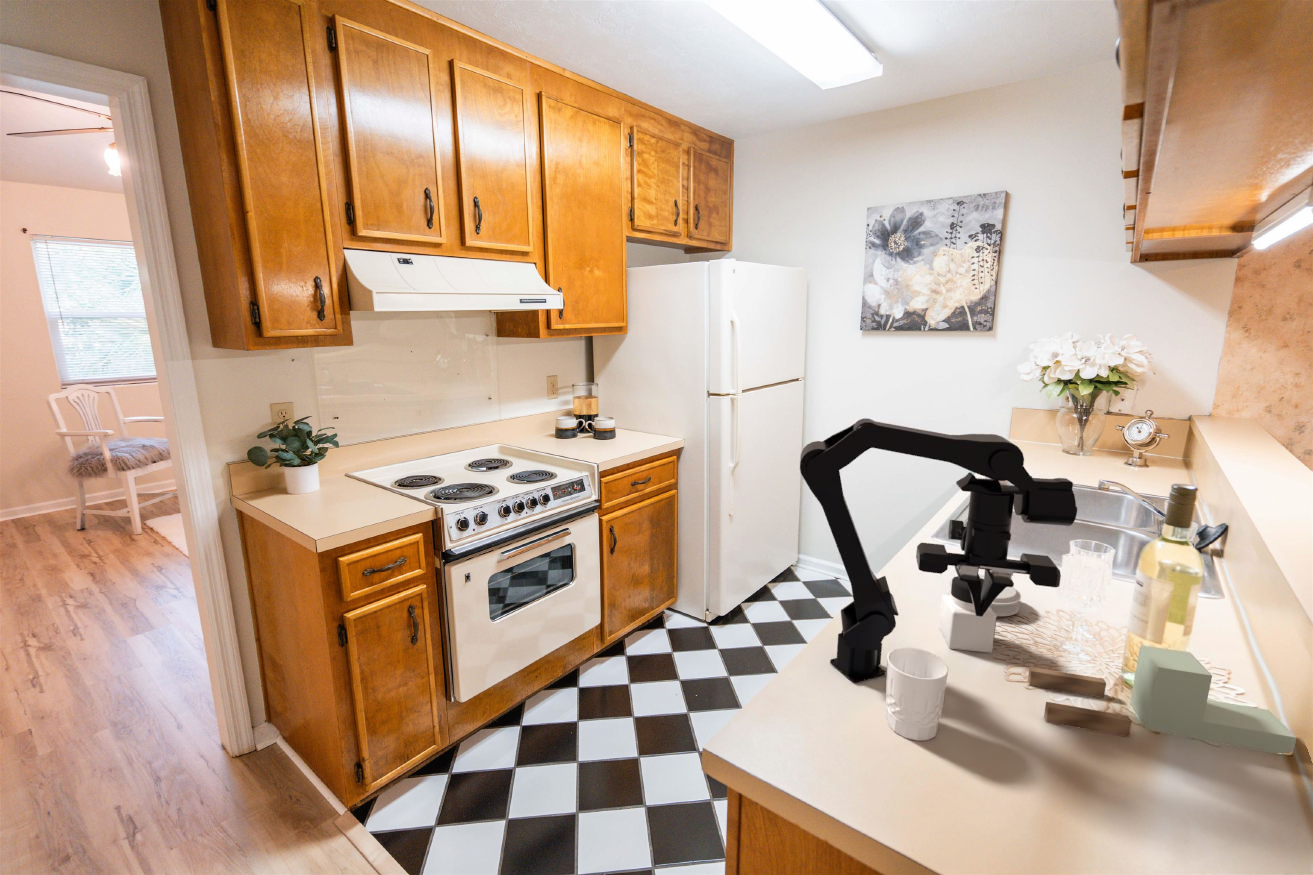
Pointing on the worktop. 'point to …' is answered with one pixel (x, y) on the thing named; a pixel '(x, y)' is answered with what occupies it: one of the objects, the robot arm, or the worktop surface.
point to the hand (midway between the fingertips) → (978, 615)
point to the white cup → (915, 692)
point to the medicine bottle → (966, 621)
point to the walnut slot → (1076, 714)
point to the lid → (1004, 601)
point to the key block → (1198, 705)
